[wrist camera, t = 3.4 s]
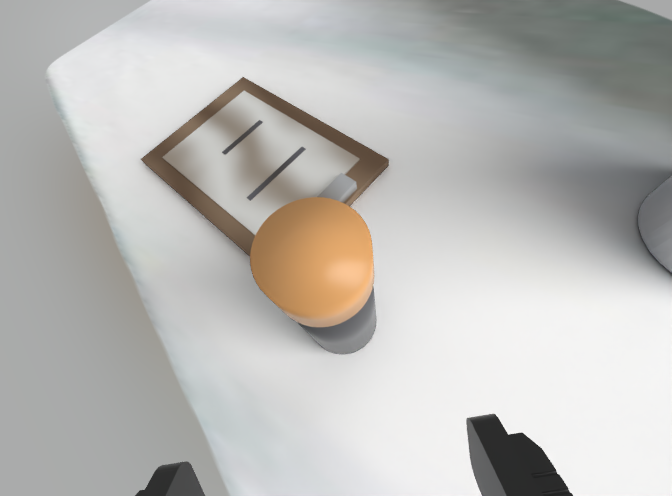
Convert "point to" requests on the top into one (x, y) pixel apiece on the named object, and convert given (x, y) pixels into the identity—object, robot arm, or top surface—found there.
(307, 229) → the orange-capped grey cylinder
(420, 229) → the top surface
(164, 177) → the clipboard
